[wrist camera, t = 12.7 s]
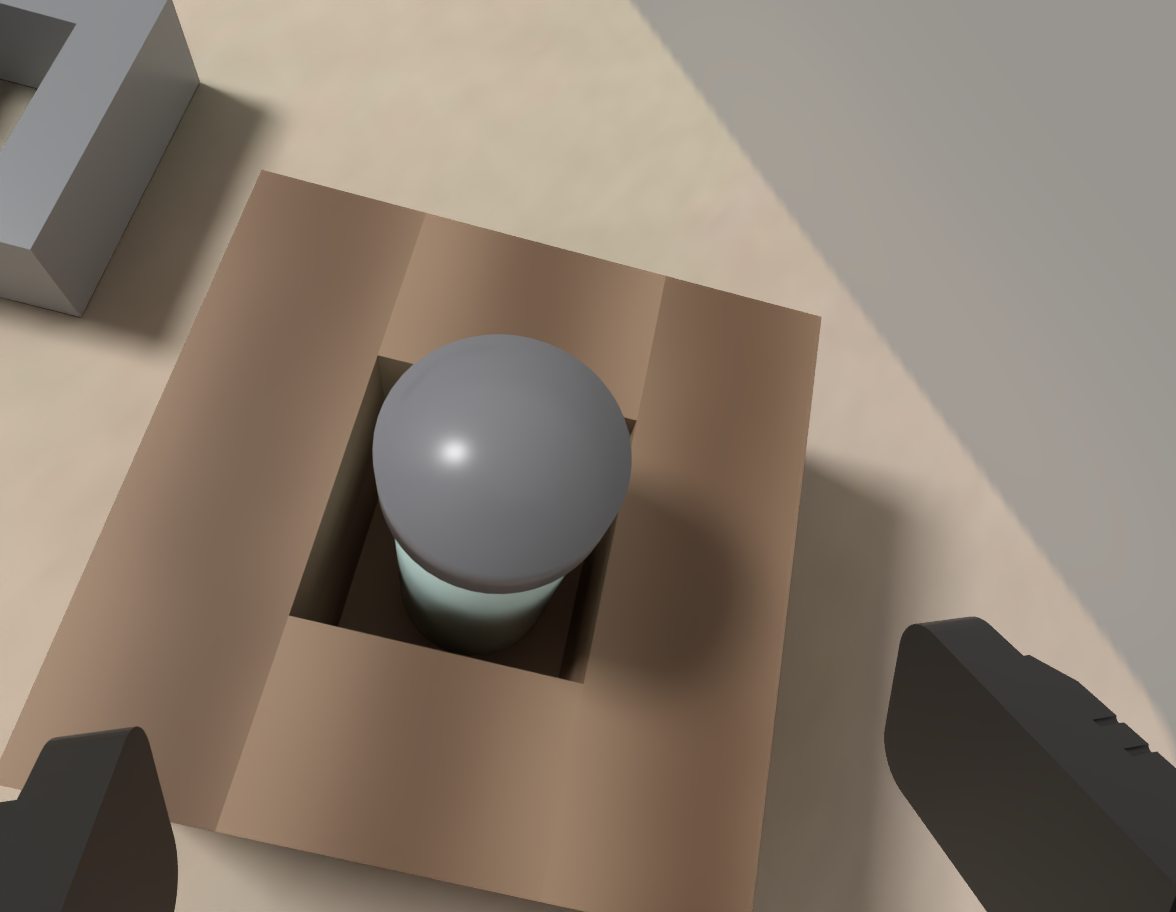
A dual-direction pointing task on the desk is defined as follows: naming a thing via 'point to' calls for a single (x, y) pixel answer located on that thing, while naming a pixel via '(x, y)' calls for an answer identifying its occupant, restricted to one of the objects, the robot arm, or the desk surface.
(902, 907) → the desk surface
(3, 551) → the desk surface
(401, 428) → the plug
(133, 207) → the grey hollow square block
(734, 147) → the desk surface
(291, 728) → the port block
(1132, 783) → the robot arm
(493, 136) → the desk surface
